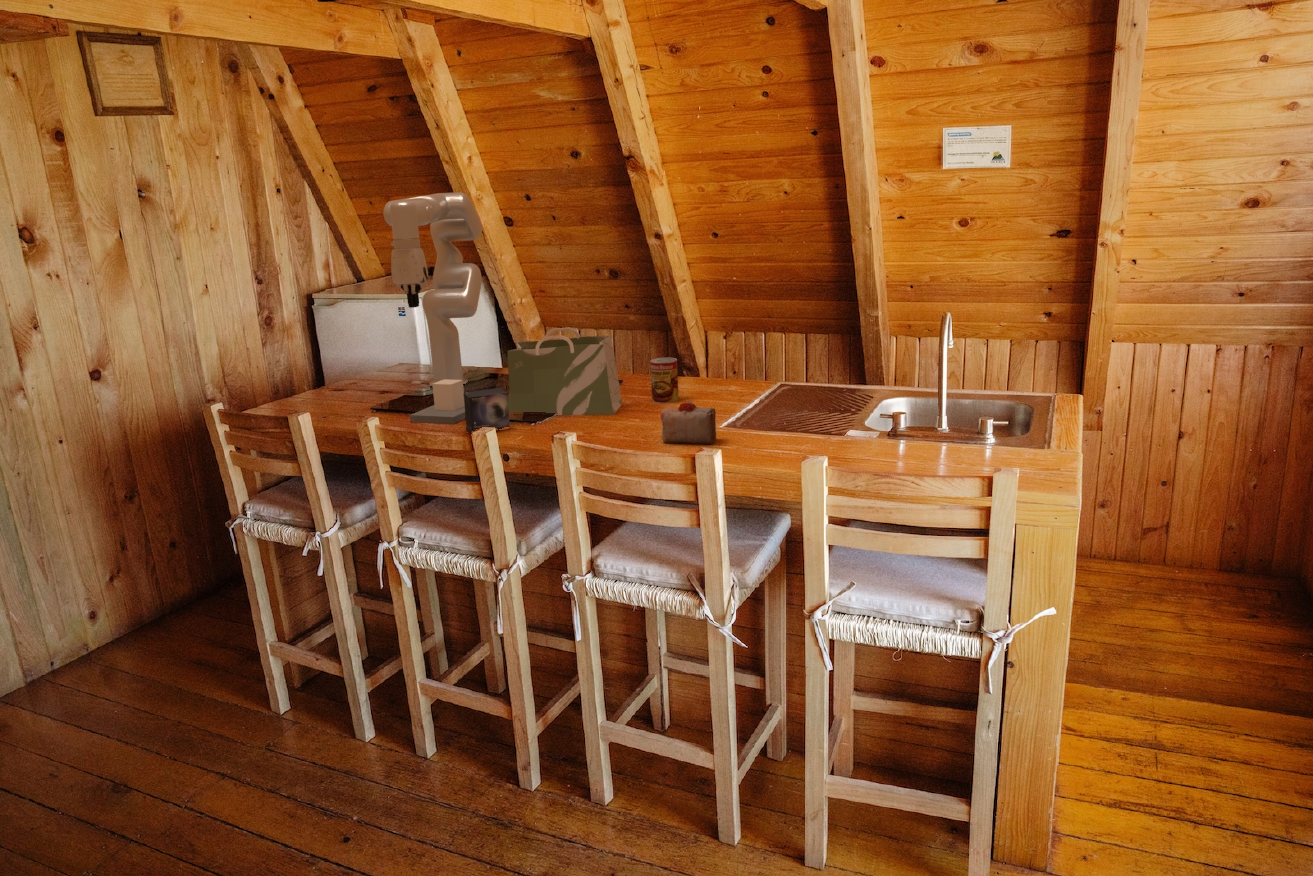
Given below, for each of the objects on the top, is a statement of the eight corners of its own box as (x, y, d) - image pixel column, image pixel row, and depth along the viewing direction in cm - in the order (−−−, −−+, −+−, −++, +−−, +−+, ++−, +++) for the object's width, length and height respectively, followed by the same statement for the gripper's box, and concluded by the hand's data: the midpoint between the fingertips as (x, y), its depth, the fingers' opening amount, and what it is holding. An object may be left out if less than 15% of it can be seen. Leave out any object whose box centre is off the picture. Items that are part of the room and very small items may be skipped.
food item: (657, 444, 233) (656, 405, 230) (666, 436, 240) (664, 398, 238) (712, 446, 229) (711, 406, 227) (719, 437, 237) (717, 399, 234)
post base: (448, 405, 285) (445, 379, 283) (489, 407, 280) (487, 380, 278) (410, 422, 267) (407, 394, 265) (454, 424, 262) (451, 395, 260)
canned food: (647, 402, 277) (645, 362, 274) (657, 396, 284) (656, 357, 281) (672, 403, 274) (671, 362, 271) (682, 397, 281) (680, 357, 278)
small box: (472, 435, 249) (469, 396, 246) (465, 430, 255) (461, 392, 252) (511, 429, 254) (508, 391, 251) (503, 424, 259) (500, 387, 257)
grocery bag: (503, 415, 269) (496, 334, 263) (519, 404, 283) (512, 327, 277) (613, 415, 264) (608, 333, 258) (624, 404, 277) (619, 325, 271)
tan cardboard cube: (446, 404, 277) (444, 379, 275) (465, 405, 275) (462, 379, 273) (435, 409, 271) (432, 383, 269) (453, 410, 269) (451, 384, 267)
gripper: (378, 246, 279) (385, 308, 284) (421, 245, 274) (428, 308, 279) (393, 244, 286) (400, 305, 291) (435, 243, 281) (442, 305, 286)
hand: (414, 306), depth 285 cm, fingers closed
